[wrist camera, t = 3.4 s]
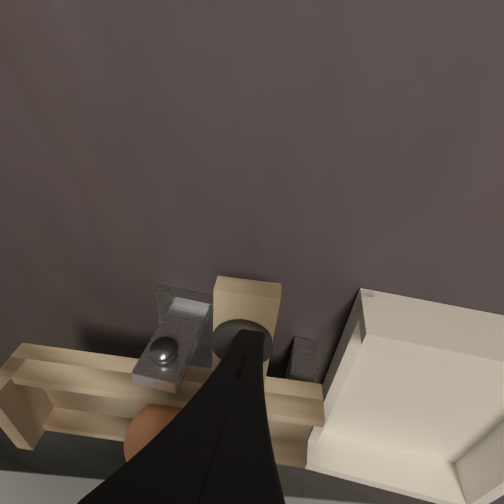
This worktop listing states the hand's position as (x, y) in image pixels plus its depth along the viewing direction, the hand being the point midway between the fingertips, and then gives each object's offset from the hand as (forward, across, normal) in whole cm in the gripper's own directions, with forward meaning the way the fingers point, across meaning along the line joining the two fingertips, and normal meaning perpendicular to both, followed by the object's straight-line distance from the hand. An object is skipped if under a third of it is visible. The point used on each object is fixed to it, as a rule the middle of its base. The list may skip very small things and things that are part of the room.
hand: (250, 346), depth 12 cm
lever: (+1, +4, +3) cm, 5 cm away
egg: (-2, +4, +6) cm, 7 cm away
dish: (+4, -10, +6) cm, 12 cm away
